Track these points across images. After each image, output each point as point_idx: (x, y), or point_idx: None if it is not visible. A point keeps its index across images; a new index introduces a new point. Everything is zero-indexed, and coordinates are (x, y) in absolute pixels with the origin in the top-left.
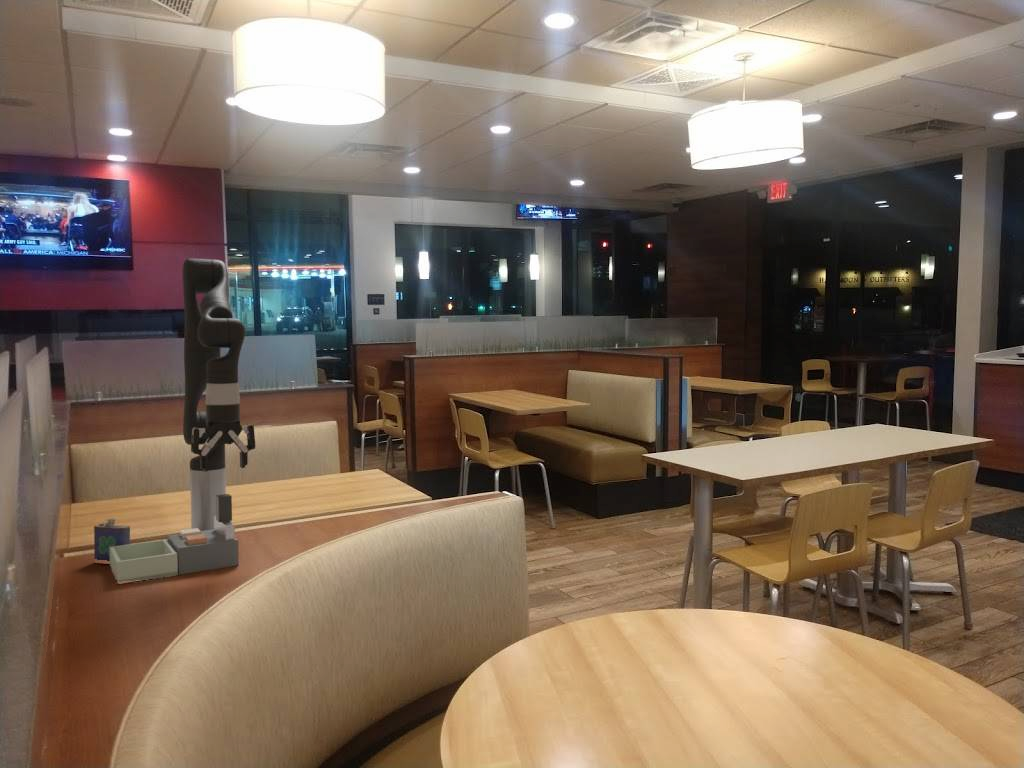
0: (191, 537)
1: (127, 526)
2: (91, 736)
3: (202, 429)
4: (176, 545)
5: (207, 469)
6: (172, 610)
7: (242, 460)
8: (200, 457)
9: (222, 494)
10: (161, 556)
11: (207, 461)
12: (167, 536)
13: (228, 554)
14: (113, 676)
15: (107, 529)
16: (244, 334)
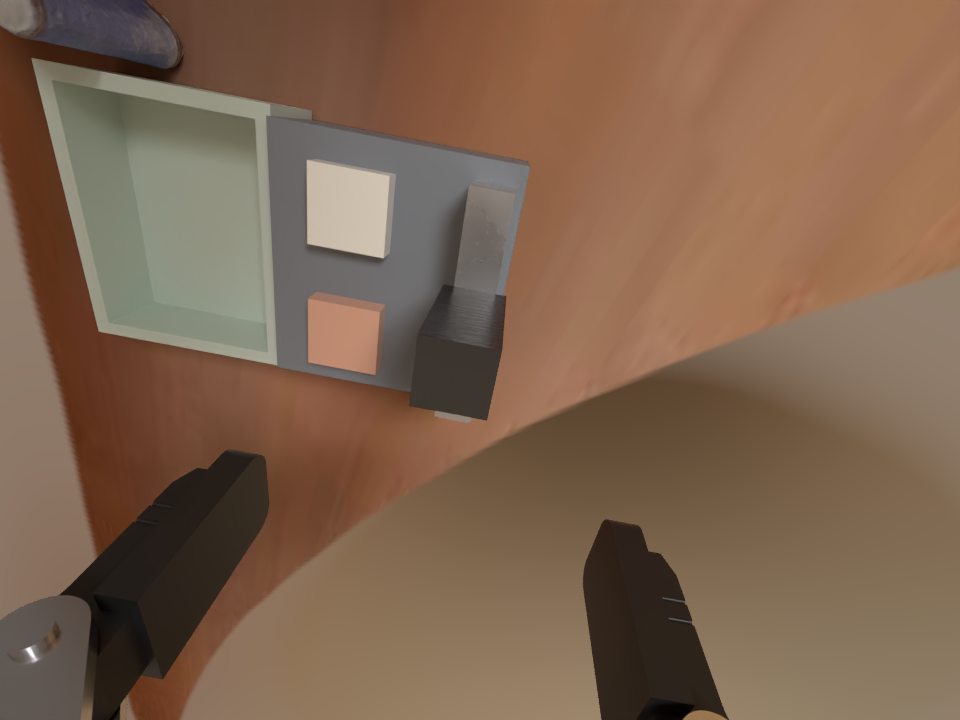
0: (324, 334)
1: (23, 11)
2: None
3: None
4: (277, 326)
5: (254, 530)
6: (264, 537)
7: (596, 654)
8: (86, 597)
9: (462, 344)
10: (233, 355)
11: (205, 607)
12: (268, 116)
13: None
14: (175, 664)
15: None
16: None
